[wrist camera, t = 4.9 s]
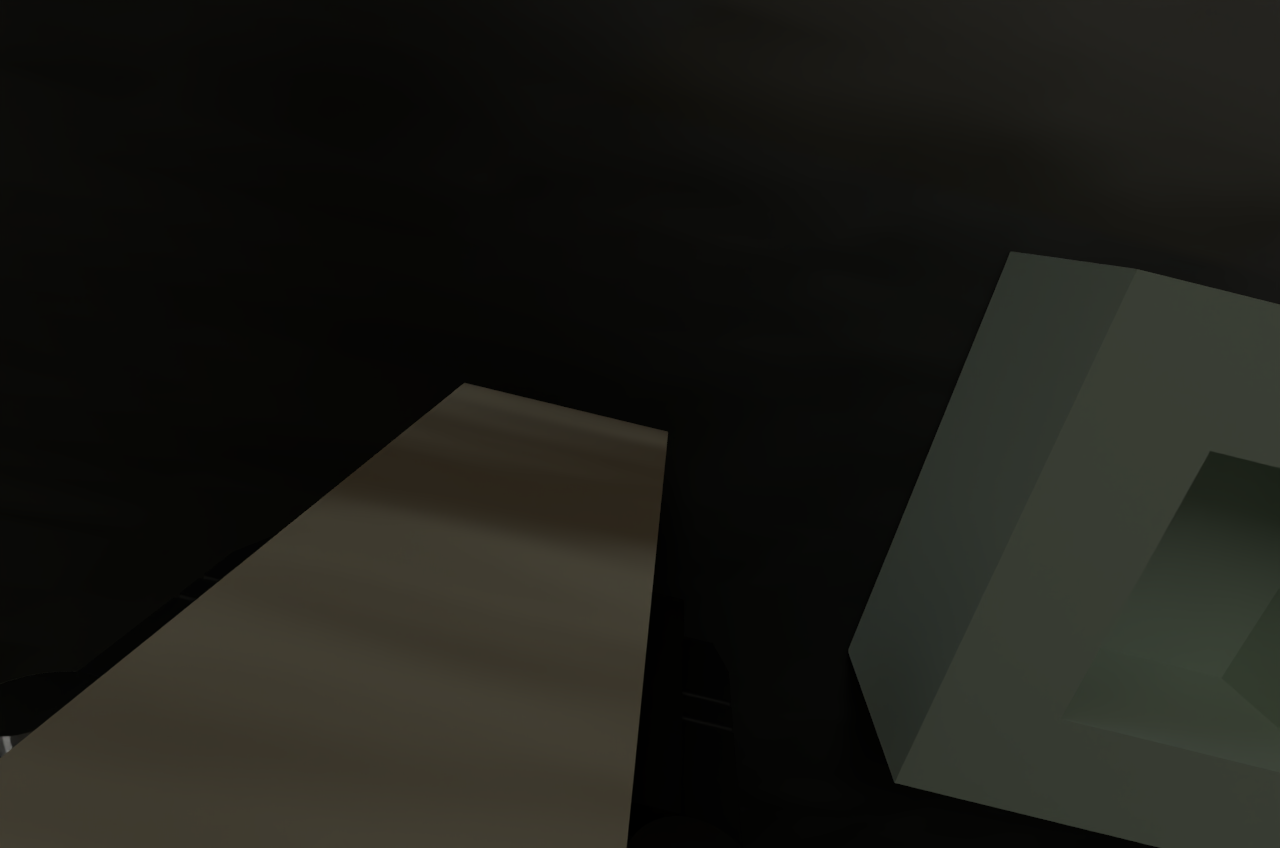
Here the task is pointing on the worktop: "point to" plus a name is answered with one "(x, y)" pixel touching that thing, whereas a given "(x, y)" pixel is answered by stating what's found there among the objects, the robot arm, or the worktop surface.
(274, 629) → the wooden block
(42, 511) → the worktop surface
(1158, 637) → the holder
